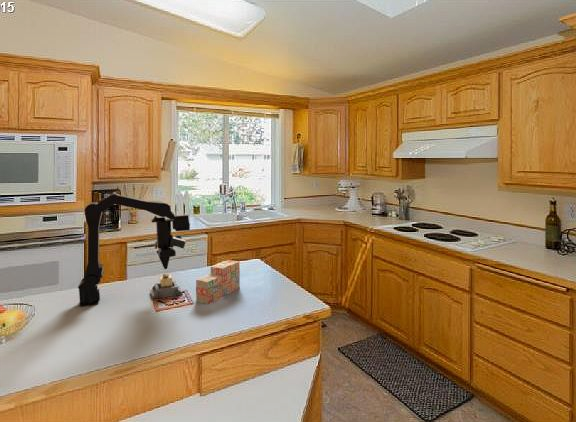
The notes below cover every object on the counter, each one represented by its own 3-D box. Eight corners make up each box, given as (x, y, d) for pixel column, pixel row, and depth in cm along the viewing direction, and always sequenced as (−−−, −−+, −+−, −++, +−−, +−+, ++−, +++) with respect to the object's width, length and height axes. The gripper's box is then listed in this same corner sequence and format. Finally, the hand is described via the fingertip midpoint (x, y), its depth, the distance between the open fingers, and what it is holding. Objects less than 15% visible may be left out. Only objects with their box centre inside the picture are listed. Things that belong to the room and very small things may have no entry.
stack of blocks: (208, 304, 145) (207, 274, 143) (196, 301, 148) (195, 272, 146) (240, 287, 163) (239, 261, 161) (228, 285, 166) (228, 259, 164)
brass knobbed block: (161, 293, 152) (160, 277, 151) (160, 289, 156) (159, 273, 155) (172, 291, 154) (171, 275, 153) (171, 288, 158) (170, 272, 157)
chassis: (152, 299, 148) (152, 291, 148) (150, 291, 157) (150, 283, 157) (183, 295, 154) (182, 287, 153) (179, 287, 162) (178, 279, 162)
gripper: (188, 234, 147) (189, 272, 149) (180, 226, 163) (181, 260, 166) (158, 237, 142) (160, 275, 144) (153, 228, 158) (155, 263, 161)
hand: (165, 268), depth 154 cm, fingers closed
